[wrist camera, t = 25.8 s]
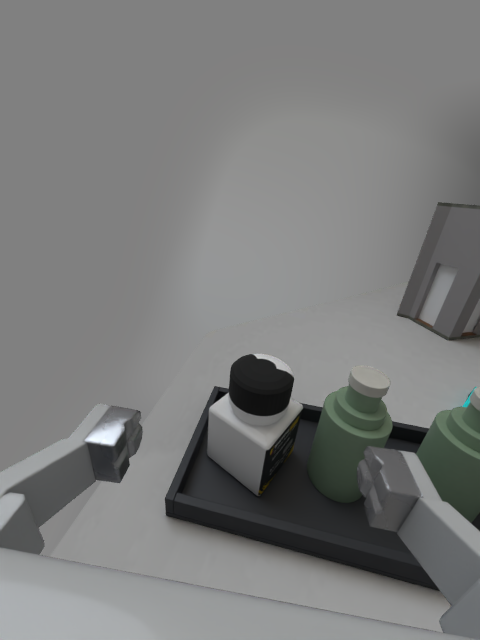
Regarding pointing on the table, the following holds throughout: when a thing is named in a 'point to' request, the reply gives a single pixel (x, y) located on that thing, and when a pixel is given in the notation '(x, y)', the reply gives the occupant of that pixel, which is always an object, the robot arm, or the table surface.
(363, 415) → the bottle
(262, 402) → the medicine bottle
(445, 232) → the grey toy building
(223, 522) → the tray
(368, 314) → the table surface
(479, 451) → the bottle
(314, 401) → the table surface
